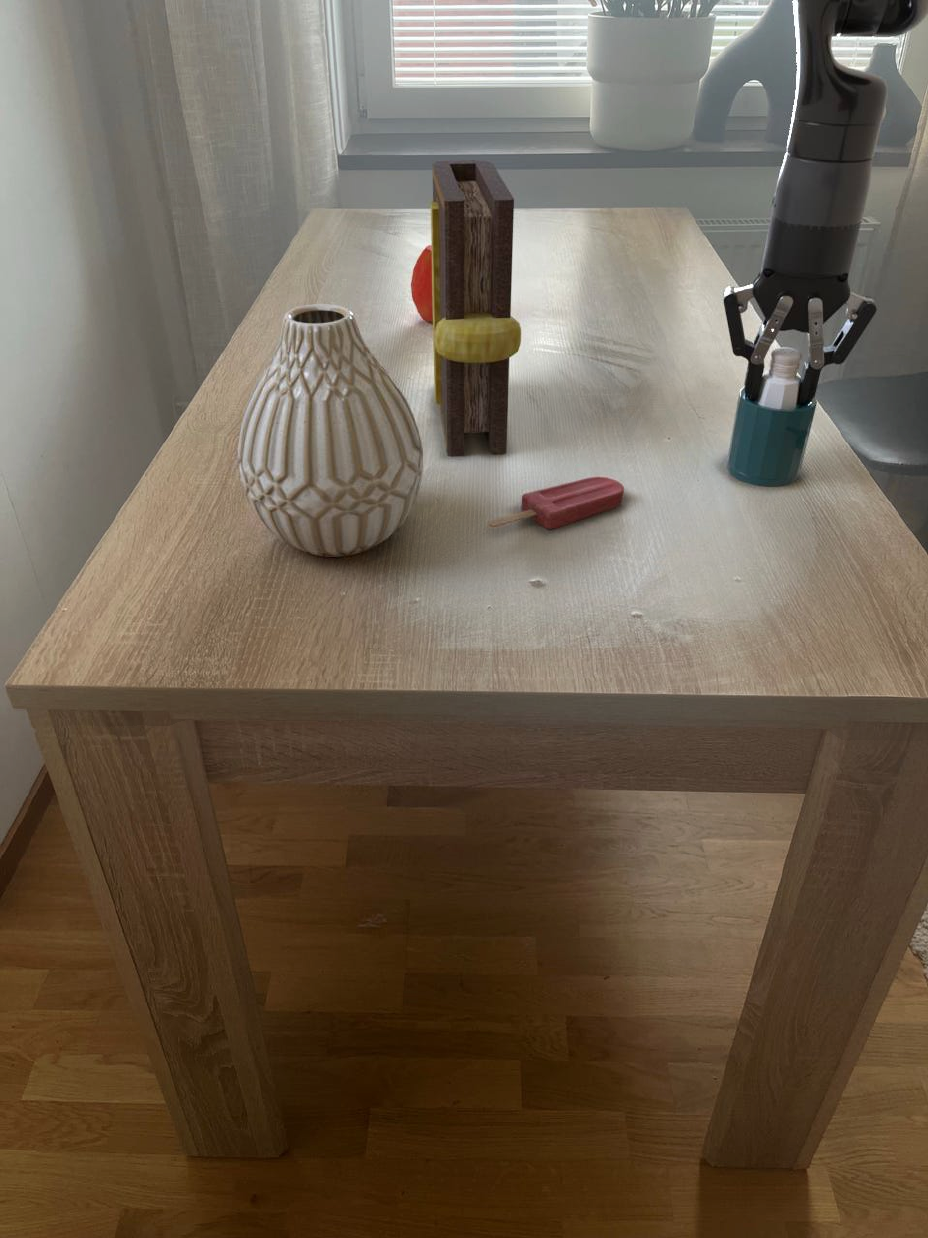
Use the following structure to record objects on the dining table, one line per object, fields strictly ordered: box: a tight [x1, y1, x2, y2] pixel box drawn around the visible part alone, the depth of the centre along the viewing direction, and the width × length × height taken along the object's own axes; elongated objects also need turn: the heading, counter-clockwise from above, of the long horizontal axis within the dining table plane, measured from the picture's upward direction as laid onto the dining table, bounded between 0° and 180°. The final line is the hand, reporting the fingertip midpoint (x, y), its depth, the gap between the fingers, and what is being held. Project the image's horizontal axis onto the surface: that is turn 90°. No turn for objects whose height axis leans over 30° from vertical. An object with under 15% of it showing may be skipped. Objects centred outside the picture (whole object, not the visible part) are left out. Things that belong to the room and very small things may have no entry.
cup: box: [726, 386, 818, 487], centre depth 92 cm, size 7×7×8 cm
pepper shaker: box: [754, 346, 803, 409], centre depth 90 cm, size 5×5×11 cm
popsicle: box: [487, 476, 625, 530], centre depth 87 cm, size 4×2×15 cm
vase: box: [236, 303, 424, 558], centre depth 78 cm, size 16×16×20 cm
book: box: [430, 159, 522, 457], centre depth 97 cm, size 22×8×25 cm, turn 5°
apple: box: [410, 244, 433, 324], centre depth 130 cm, size 8×8×11 cm
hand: (777, 399), depth 90 cm, fingers closed on pepper shaker, 4 cm apart
